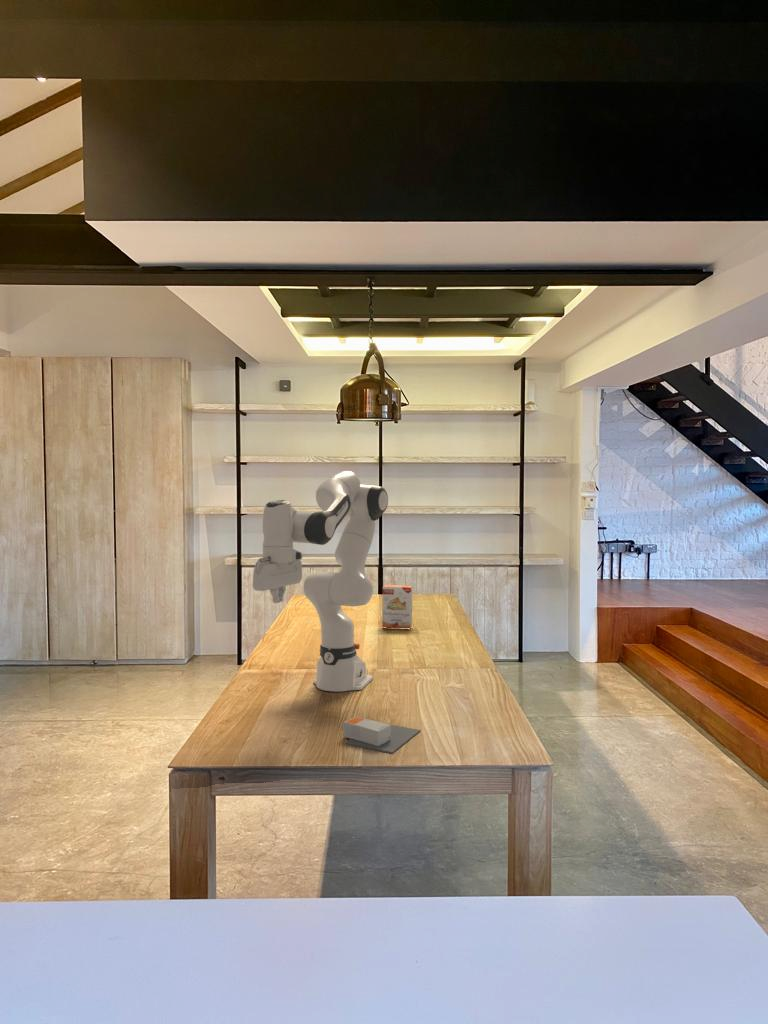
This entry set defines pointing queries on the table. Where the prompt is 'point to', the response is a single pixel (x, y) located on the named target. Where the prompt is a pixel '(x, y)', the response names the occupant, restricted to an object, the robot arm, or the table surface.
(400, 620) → the cracker box
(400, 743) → the mat
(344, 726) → the skincare box
